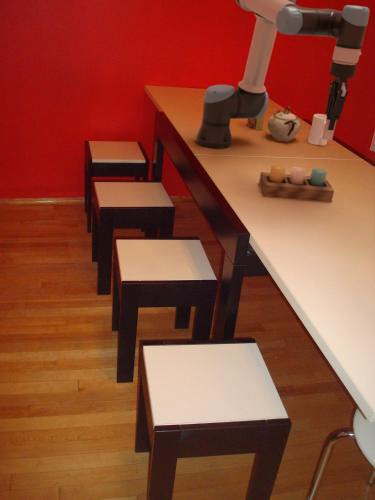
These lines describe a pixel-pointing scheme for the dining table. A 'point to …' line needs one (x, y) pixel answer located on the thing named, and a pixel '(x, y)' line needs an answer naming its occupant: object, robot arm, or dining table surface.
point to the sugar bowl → (284, 125)
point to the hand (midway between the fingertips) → (327, 138)
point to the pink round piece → (297, 175)
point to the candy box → (256, 122)
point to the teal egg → (318, 177)
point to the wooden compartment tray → (295, 189)
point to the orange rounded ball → (277, 174)
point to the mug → (317, 130)
